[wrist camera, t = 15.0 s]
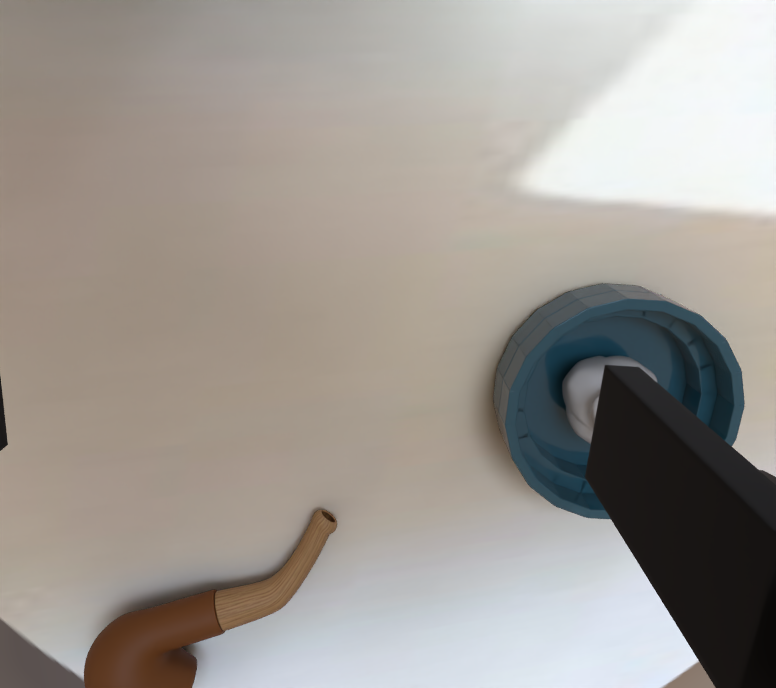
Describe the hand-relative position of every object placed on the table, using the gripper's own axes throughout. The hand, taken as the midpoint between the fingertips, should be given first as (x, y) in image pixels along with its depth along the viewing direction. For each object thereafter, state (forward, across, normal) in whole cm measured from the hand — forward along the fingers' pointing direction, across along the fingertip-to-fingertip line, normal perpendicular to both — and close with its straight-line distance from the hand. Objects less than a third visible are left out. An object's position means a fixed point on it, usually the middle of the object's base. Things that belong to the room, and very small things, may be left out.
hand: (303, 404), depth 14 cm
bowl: (+25, +16, -8) cm, 30 cm away
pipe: (+25, -8, -24) cm, 35 cm away
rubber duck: (+24, +16, -8) cm, 30 cm away
